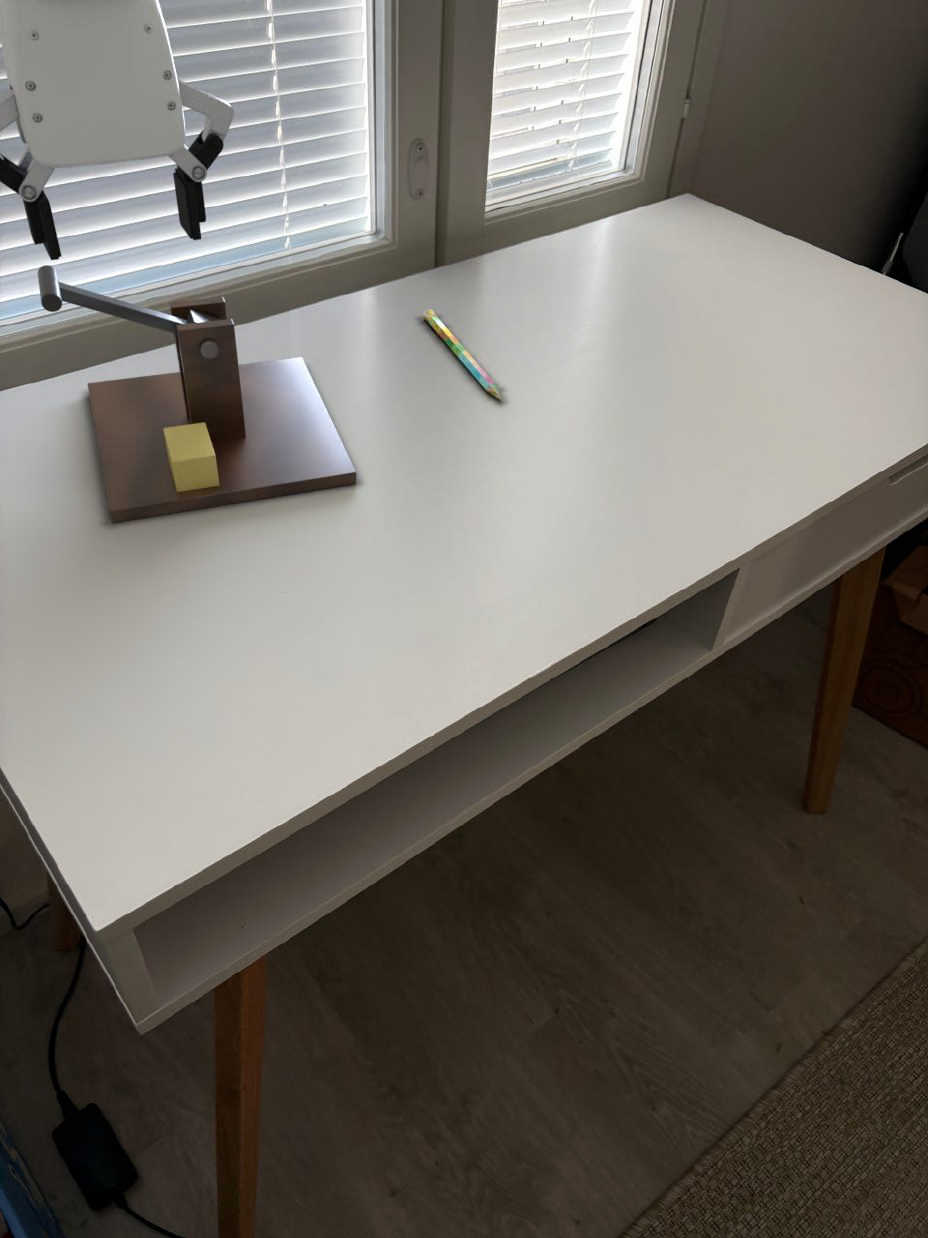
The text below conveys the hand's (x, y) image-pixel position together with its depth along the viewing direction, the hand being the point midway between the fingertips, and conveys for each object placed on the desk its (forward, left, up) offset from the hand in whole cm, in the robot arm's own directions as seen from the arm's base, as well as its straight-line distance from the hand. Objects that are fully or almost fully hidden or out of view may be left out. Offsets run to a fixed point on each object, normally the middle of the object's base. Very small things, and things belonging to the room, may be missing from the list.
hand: (123, 242), depth 71 cm
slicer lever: (-1, +5, -9) cm, 10 cm away
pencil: (+31, +13, -20) cm, 39 cm away
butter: (+2, -2, -19) cm, 19 cm away
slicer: (+5, +5, -20) cm, 21 cm away
